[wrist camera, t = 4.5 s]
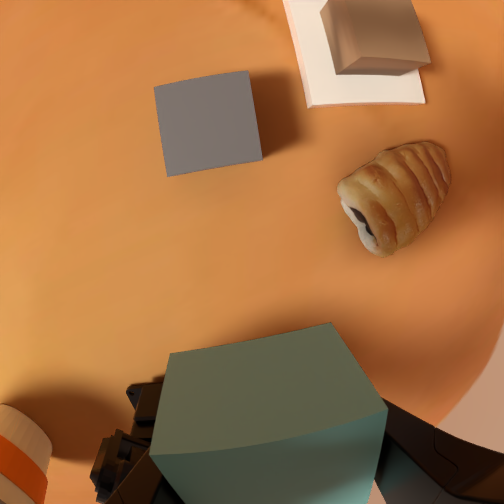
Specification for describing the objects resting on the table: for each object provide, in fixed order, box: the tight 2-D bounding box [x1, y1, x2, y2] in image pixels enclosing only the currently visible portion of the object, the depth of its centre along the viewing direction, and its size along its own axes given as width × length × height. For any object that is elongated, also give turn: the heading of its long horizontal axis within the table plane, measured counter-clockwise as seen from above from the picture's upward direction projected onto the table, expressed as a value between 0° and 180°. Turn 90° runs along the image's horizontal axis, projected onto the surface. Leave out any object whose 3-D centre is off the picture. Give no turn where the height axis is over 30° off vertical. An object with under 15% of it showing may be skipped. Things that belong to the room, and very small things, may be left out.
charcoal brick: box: [154, 71, 263, 177], centre depth 17 cm, size 5×5×4 cm
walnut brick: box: [320, 0, 431, 76], centre depth 14 cm, size 5×5×4 cm
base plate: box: [282, 0, 425, 108], centre depth 17 cm, size 9×9×1 cm
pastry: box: [337, 141, 451, 257], centre depth 19 cm, size 9×7×4 cm
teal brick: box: [149, 322, 388, 504], centre depth 8 cm, size 5×5×4 cm
